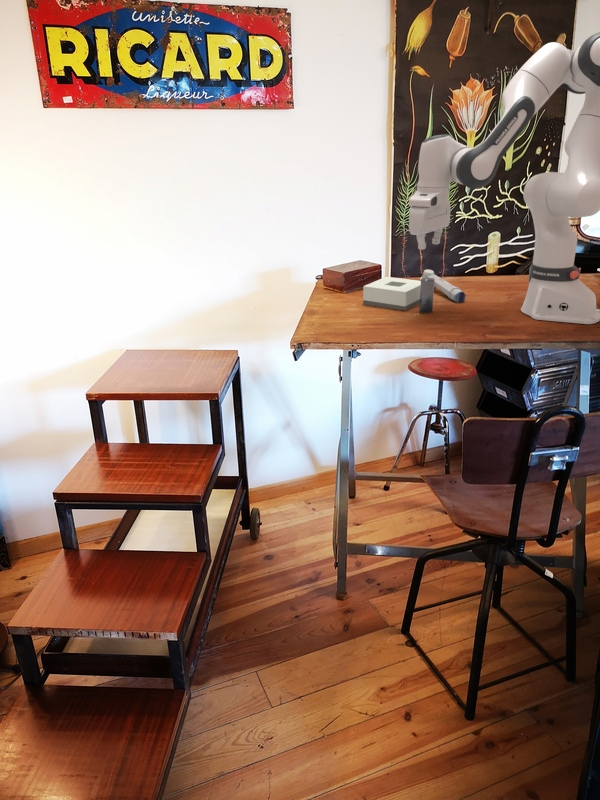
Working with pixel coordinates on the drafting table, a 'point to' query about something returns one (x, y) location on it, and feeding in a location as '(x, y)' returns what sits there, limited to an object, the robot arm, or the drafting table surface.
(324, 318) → the drafting table surface
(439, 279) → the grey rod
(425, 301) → the dark grey upright bar
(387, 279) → the socket block
